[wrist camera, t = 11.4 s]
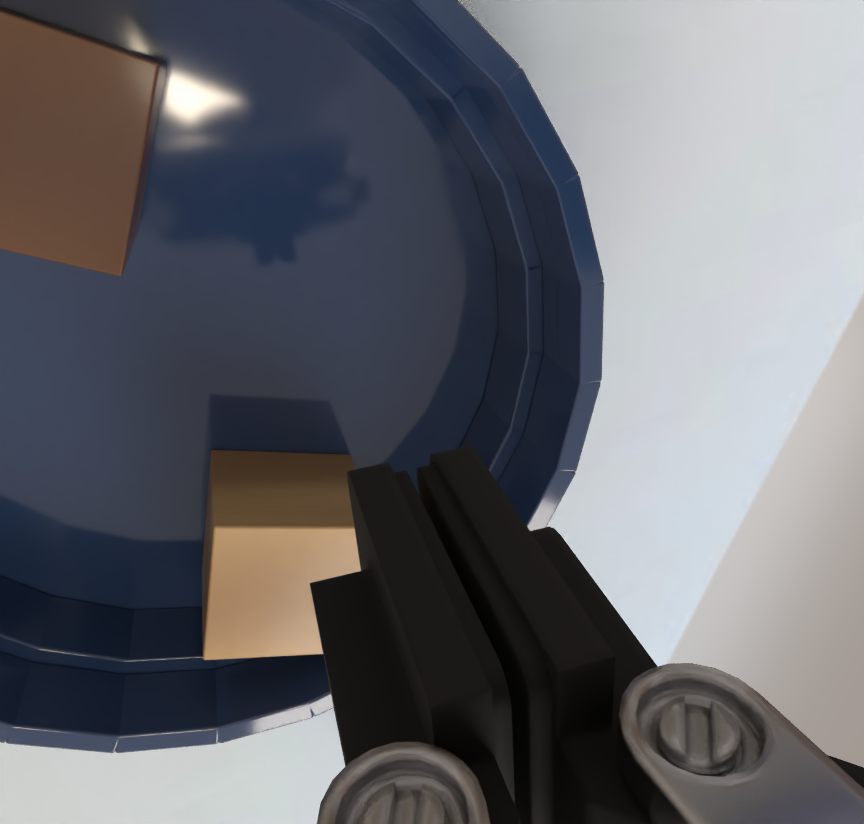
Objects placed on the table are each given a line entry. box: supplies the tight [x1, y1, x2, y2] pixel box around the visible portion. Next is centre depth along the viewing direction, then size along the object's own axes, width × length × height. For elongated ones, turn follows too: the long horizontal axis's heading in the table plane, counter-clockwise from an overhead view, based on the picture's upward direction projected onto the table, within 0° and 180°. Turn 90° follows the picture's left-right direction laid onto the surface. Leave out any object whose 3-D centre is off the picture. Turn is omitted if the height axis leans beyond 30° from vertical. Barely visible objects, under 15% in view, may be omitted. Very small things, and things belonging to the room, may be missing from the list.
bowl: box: [0, 0, 604, 753], centre depth 18 cm, size 19×19×5 cm
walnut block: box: [0, 7, 167, 276], centre depth 15 cm, size 4×4×4 cm
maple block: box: [202, 450, 361, 660], centre depth 20 cm, size 4×4×4 cm
